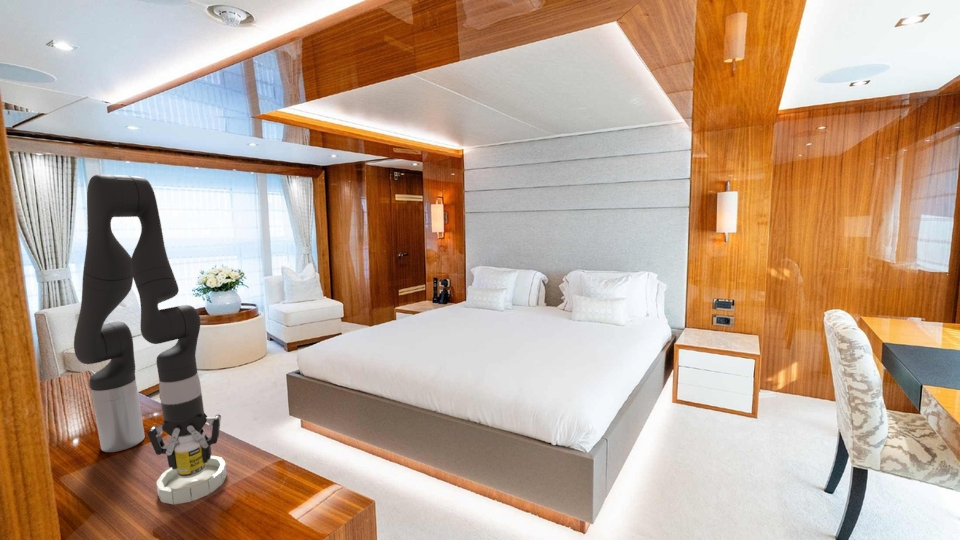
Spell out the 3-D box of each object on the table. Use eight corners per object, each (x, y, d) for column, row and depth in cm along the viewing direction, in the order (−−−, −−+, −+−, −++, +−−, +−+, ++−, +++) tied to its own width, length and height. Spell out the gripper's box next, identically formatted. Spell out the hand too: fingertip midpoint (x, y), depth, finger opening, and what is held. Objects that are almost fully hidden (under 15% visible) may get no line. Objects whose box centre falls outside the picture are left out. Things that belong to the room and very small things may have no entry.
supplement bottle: (192, 480, 97) (186, 440, 95) (172, 477, 98) (166, 438, 96) (211, 465, 102) (206, 427, 100) (192, 463, 103) (186, 425, 102)
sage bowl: (153, 484, 101) (152, 473, 100) (217, 460, 110) (215, 449, 109) (165, 512, 92) (163, 500, 91) (233, 483, 101) (232, 471, 100)
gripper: (221, 382, 103) (229, 448, 106) (147, 394, 98) (158, 462, 100) (215, 396, 96) (224, 465, 99) (136, 408, 91) (148, 482, 94)
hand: (191, 463), depth 100 cm, fingers closed on supplement bottle, 5 cm apart
